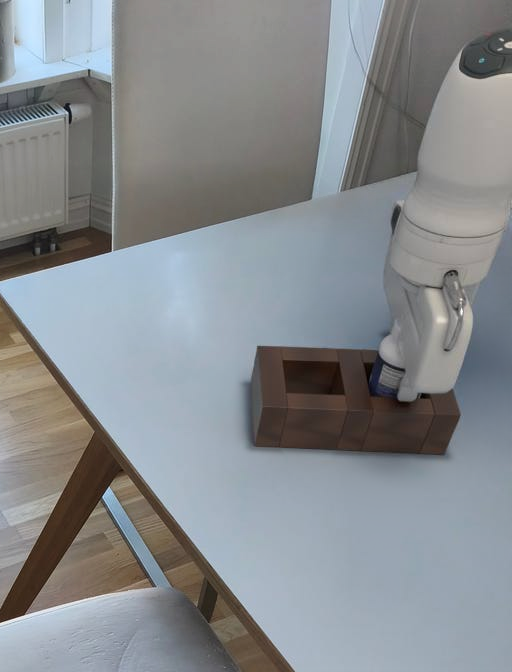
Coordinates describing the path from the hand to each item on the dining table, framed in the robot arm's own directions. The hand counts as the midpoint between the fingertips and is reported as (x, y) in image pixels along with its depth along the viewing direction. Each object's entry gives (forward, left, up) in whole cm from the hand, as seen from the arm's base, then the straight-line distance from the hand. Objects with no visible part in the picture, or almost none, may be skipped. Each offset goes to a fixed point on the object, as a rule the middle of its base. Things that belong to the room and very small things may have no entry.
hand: (399, 377), depth 90 cm
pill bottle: (0, 0, -4) cm, 4 cm away
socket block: (+4, 0, -5) cm, 7 cm away
